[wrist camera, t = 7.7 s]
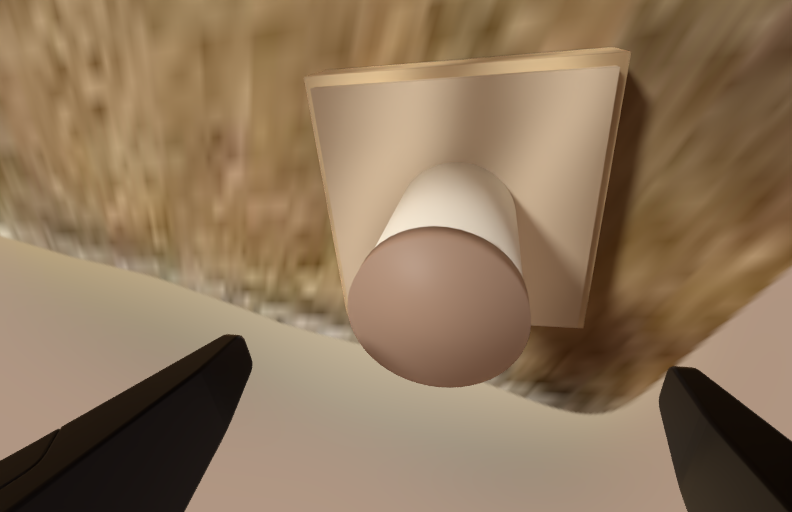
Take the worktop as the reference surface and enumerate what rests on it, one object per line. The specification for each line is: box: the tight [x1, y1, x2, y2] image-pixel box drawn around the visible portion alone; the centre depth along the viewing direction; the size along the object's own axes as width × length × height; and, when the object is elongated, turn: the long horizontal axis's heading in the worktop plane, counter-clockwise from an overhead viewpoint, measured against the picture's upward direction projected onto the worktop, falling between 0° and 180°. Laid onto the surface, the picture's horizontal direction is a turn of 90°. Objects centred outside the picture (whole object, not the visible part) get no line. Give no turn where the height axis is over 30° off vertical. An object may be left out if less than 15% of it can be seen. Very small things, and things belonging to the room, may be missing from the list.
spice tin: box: [347, 162, 531, 387], centre depth 15 cm, size 5×5×7 cm
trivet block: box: [304, 47, 631, 328], centre depth 19 cm, size 12×12×3 cm
